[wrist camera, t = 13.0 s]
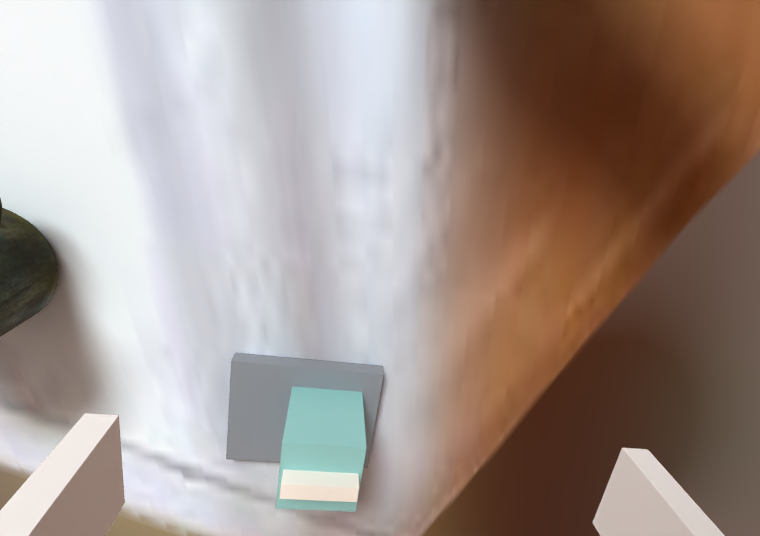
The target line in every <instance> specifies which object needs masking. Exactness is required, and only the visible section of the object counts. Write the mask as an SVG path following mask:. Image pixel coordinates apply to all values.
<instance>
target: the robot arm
mask: <svg viewBox="0 0 760 536" xmlns="http://www.w3.org/2000/svg"><path fill="white" fill-rule="evenodd" d="M124 503H125V499H124V485H123V470H122V456H121V441H120V427H119V415H105V414H89V413H85V414H84V415H83V416H82V417H81V418H80V420H79V421H78V422H77V423H76V424H75V425H74V426H73V428H72V429H71V430H70V431H69V432H68V433H67V434H66V436H65V437H64V438H63V439H62V440H61V441H60V443H59V444H58V445H57V446H56V447H55V448H54V449H53V451H52V452H51V453H50V454H49V455H48V456H47V458H46V459H45V460H44V461H43V462H42V463H41V464H40V466H39V467H38V468H37V469H36V470H35V471H34V472H33V474H32V475H31V476H30V477H29V478H28V479H27V481H26V482H25V483H24V484H23V485H22V486H21V487H20V489H19V490H18V491H17V492H16V493H15V494H14V496H13V497H12V498H11V499H10V500H9V501H8V502H7V504H6V505H5V506H4V507H3V508H2V509H1V511H0V536H106V534H107V533H108V531H109V529H110V527H111V526H112V524H113V522H114V520H115V519H116V517H117V515H118V513H119V512H120V510H121V508H122V506H123V505H124ZM593 524H594V526H595V528H596V529H597V531H598V532H599V534H600V536H724V535H723V533H722V532H721V531H720V530H719V529H718V528H717V527H716V526H715V525H714V524H713V522H712V521H711V520H710V519H709V518H708V517H707V516H706V515H705V513H704V512H703V511H702V510H701V509H700V508H699V506H697V504H696V503H695V502H694V501H693V500H692V499H691V498H690V497H689V495H688V494H687V493H686V492H685V491H684V490H683V489H682V487H681V486H680V485H679V484H678V483H677V482H676V481H675V480H674V478H673V477H672V476H671V475H670V474H669V473H668V472H667V471H666V470H665V468H664V467H663V466H662V465H661V464H660V463H659V462H658V460H657V459H656V458H655V457H654V456H653V455H652V454H651V453H650V451H649V450H647V449H633V448H622V449H621V452H620V454H619V457H618V460H617V462H616V465H615V467H614V470H613V472H612V475H611V477H610V480H609V482H608V485H607V488H606V490H605V492H604V495H603V497H602V500H601V503H600V505H599V508H598V510H597V513H596V515H595V518H594V520H593Z"/></svg>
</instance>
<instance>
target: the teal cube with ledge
mask: <svg viewBox="0 0 760 536" xmlns="http://www.w3.org/2000/svg"><path fill="white" fill-rule="evenodd" d="M366 448H367V447H366V434H365V421H364V409H363V396H362V392H357V391H344V390H331V389H319V388H306V387H293V386H292V391H291V396H290V402H289V407H288V413H287V418H286V424H285V429H284V435H283V440H282V449H281V459H280V470H279V480H278V490H277V501H276V508H282V509H306V510H329V511H352V512H356V507H357V501H358V495H359V489H360V483H361V477H362V471H363V466H364V460H365V454H366Z"/></svg>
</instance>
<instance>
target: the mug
mask: <svg viewBox="0 0 760 536" xmlns="http://www.w3.org/2000/svg"><path fill="white" fill-rule="evenodd" d="M56 283H57V264H56V260H55V256H54V254H53V251H52V249H51V247H50V245H49V244H48V242H47V240H46V239H45V238H44V236H43V235H42V234H41V233H40V232H39V231H38V230H37V229H36V228H35V227H34V226H33V225H32V224H31V223H29V222H28V221H26V220H25V219H24V218H22V217H20V216H19V215H17V214H15V213H13V212H11V211H9V210H6V209H4V208H2V203H1V199H0V336H2V335H3V334H5V333H7V332H8V331H10V330H11V329H13V328H14V327H16V326H18V325H19V324H21V323H22V322H24V321H25V320H27V319H29V318H30V317H32V316H33V315H35V314H36V313H38V312H39V311H40V310H42V309H43V308H44V307H45V306H46V305H47V303H48V302H49V301H50V299H51V297H52V296H53V294H54V291H55V288H56Z"/></svg>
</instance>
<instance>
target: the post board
mask: <svg viewBox="0 0 760 536" xmlns="http://www.w3.org/2000/svg"><path fill="white" fill-rule="evenodd" d="M383 376H384V373H383V367H382V366H378V365H366V364H355V363H344V362H333V361H322V360H310V359H299V358H288V357H277V356H266V355H254V354H243V353H235V354H234V357H233V359H232V361H231V379H230V398H229V416H228V435H227V454H226V459H232V460H249V461H266V462H280V459H281V449H282V440H283V435H284V429H285V424H286V418H287V413H288V407H289V402H290V396H291V391H292V386H293V387H306V388H319V389H331V390H344V391H357V392H362V396H363V409H364V421H365V434H366V447H367V448H366V454H365V460H364V466H363V467H367V466H368V461H369V455H370V449H371V444H372V438H373V433H374V427H375V421H376V416H377V410H378V404H379V399H380V393H381V387H382V382H383Z"/></svg>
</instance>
